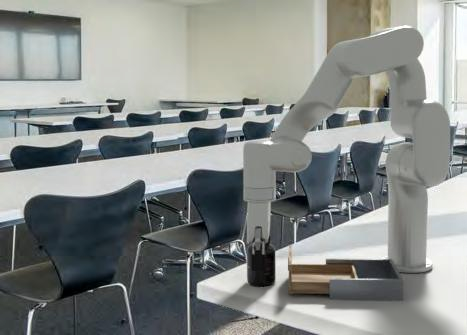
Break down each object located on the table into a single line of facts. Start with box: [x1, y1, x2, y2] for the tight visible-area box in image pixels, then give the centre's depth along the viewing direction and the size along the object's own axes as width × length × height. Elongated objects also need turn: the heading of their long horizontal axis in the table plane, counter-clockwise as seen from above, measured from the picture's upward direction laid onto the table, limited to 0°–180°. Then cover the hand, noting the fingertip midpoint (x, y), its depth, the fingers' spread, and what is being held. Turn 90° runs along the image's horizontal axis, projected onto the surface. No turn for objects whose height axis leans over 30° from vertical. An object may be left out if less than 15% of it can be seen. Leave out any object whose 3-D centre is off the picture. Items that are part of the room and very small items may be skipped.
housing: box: [325, 257, 405, 302], centre depth 134 cm, size 15×16×5 cm
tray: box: [287, 244, 358, 296], centre depth 135 cm, size 15×16×7 cm
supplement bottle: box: [246, 232, 277, 288], centre depth 139 cm, size 7×7×12 cm
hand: (259, 264), depth 139 cm, fingers open, 9 cm apart
